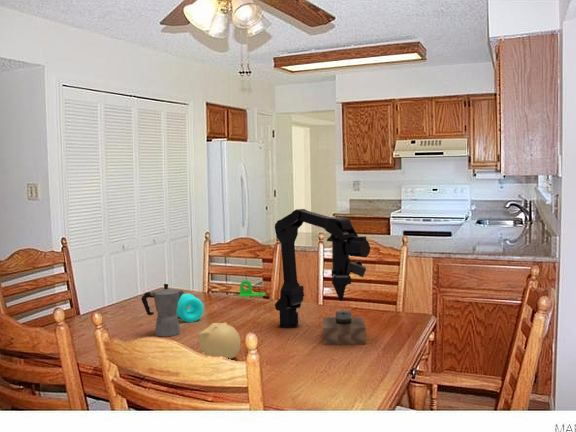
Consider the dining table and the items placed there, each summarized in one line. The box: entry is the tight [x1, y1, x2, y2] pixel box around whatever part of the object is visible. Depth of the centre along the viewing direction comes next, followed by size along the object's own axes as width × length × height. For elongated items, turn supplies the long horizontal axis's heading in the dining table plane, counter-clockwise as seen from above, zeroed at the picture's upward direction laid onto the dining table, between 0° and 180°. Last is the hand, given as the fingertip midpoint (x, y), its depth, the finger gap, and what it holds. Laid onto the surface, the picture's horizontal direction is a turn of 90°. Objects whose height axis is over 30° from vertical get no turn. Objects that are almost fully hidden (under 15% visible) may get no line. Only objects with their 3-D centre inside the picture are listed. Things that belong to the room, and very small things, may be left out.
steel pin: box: [334, 309, 353, 324], centre depth 187 cm, size 5×5×8 cm
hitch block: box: [322, 316, 367, 345], centre depth 187 cm, size 14×14×6 cm
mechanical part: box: [238, 279, 267, 298], centre depth 258 cm, size 12×6×8 cm, turn 89°
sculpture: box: [198, 322, 241, 360], centre depth 169 cm, size 12×12×11 cm
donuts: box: [176, 293, 205, 323], centre depth 217 cm, size 10×10×10 cm
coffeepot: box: [141, 283, 185, 338], centre depth 198 cm, size 15×9×18 cm, turn 116°
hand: (341, 300), depth 188 cm, fingers closed
